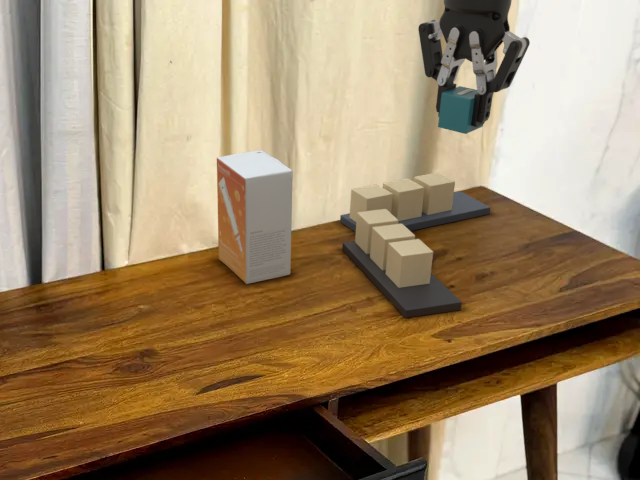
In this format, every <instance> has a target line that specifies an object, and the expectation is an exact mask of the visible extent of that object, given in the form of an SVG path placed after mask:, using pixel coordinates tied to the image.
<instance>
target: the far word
mask: <svg viewBox="0 0 640 480" xmlns="http://www.w3.org/2000/svg"><path fill="white" fill-rule="evenodd" d="M455 185H456V181H455V180H453V179H452V178H449V177H448V176H446V175H444V174H442V173H440V172H432V173H427V174H422V175H416V176H414V177H413V180H412V179H410V178H408V177H406V178H401V179H396V180H391V181H385V182H383V183H382V186H381V185H379V184H377V183H376V184H370V185H365V186H360V187H354V188H351V189H350V204H349V213H344V214H340V218H339V219H340V220H339V222H340V223H341V224H342V225H344V226H345V227H347V228H349V229H350V230H352V231H353V232H354V233H356V220H357V212H364V211H372V210H381V209H387V210H388V211H389V212H390V213H391V214H392V215H393V216H394V217H395V218H396V219H398V224H403V225H404V226H405V227H406V228H407V229H409V230H410V231H411V232H412V231H416V230H421V229H426V228H430V227H435V226H439V225H444V224H449V223H455V222H459V221H463V220H467V219H472V218H477V217H482V216H486V215H490V213H491V206H489V205H487V204H485V203H484V202H482V201H480V200H478V199H476V198H474V197H472V196H470V195H468V194H467V193H465V192H463V191H462V190H458V191H455V187H456V186H455Z"/></svg>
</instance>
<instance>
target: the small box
mask: <svg viewBox="0 0 640 480" xmlns="http://www.w3.org/2000/svg"><path fill="white" fill-rule="evenodd" d="M293 172H294V171H293V170H292V169H291V168H290V167H288V166H287V165H286V164H284V163H283V162H281V160H279V159H277V158H275V157H273V156H272V155H270V154H269V153H267V152H265V150H261V149H260V150H252V151H245V152H239V153H234V154H228V155H222V156H218V157H216V181H217V182H216V185H217V186H216V188H217V193H216V194H217V228H218V229H217V241H218V242H217V243H218V245H217V248H218V249H217V251H218V260H219V261H220V262H222V263H223V264H224V265H226V267H227V268H229V269H230V271H232V272H233V273H234V274H235V275H236V276H237V277H238V278H239V279H240V280H241V281H243V283H244V284H246V285H249V284H254V283H259V282H263V281H268V280H273V279H277V278H282V277H285V276H289V275H291V273H292V272H291V265H292V264H291V263H292V262H291V261H292V224H293V223H292V222H293V221H292V219H293V177H294V176H293Z"/></svg>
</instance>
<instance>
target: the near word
mask: <svg viewBox="0 0 640 480" xmlns="http://www.w3.org/2000/svg"><path fill="white" fill-rule="evenodd" d="M354 238H355V239H354V240H352V241H351V240H350V241H344V242H342V244H341V245H342V246H341V247H342V248H341V250H342V251H343V252H344V253H345V254H346V256H347V257H348V258H349V259H350V260H351V261H352V262H353V263H354V264H355V265H356V266H357V268H358V269H360V271H361V272H362V273H363V274H364V275H365V276H366V278H368V280H370V282H371V283H372V284H373V285H374V286H375V287H376V288H377V290H379V291H380V292H381V294H382V295H384V297H385V298H386V299H387V300H388V301H389V302H390V303H391V304H392V306H394V307H395V309H396V310H397V311H398V312H399V313H400V314H401V315H402V316H403V318H405V319H409V318H416V317H423V316H429V315H434V314H435V315H436V314H443V313H448V312H455V311H461V310H462V303H463V302H462V301H461V300H460V299H459V298H458V297H457V296H456V295H455V294H454V293H453V292H452V291H451V290H450V289H449V288H448V287H447V286H446V285H445V284H443V283H442V281H441V280H439V278H437V277H436V276H435V275H434V274H433V273H432V266H433V259H434V258H433V257H434V250H433V249H431V248H430V247H428V245H426V244H425V243H424V242H423V241H422V240H421V239H420V238H416V234H414V233H413V232H412V231H410V230H409V229H407V228H406V227H405V226H404V225H403V224H398V219H396V218H395V217H394V216H393V215H392V214H391V213H390V212H389V211H388V210H387V209H381V210H372V211H364V212H357V220H356V232H355V237H354Z"/></svg>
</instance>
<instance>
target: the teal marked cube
mask: <svg viewBox="0 0 640 480" xmlns="http://www.w3.org/2000/svg"><path fill="white" fill-rule="evenodd" d="M477 93H478V92H477V89H475V88H469V87H466V86H461V85H459V86H456V88H454V89H451V90H448V91H446V92H443V93H442V97H441V105H440V113H439V112H438V113H439V117H438V123H437V127H438V128H440V129H445V130H448V131H452V132H456V133H459V134H463V135H467V134H469V133H472V132H474V131H477V130H478V129H480V128H483V127H484V124H483V125H481V126H479V127H474V126H472V125H471V122H472V114H473V107H474V100H475V98H474V97H475V94H477Z"/></svg>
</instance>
